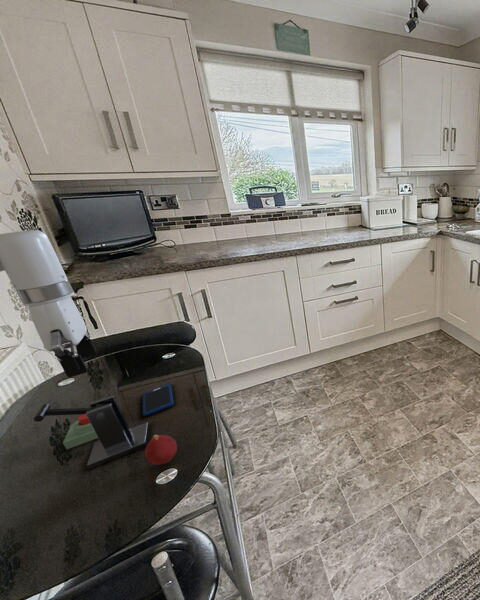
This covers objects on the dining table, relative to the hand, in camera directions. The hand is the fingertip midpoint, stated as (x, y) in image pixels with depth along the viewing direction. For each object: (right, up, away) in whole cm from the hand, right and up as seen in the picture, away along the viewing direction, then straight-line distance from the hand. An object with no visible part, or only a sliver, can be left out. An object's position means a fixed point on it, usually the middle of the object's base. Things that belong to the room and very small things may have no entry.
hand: (83, 364), depth 72 cm
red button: (-12, -17, +14) cm, 25 cm away
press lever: (-4, -12, +2) cm, 13 cm away
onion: (+17, -23, +2) cm, 29 cm away
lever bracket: (+1, -22, +9) cm, 24 cm away
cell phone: (-2, -16, +26) cm, 30 cm away
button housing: (-11, -21, +15) cm, 28 cm away
